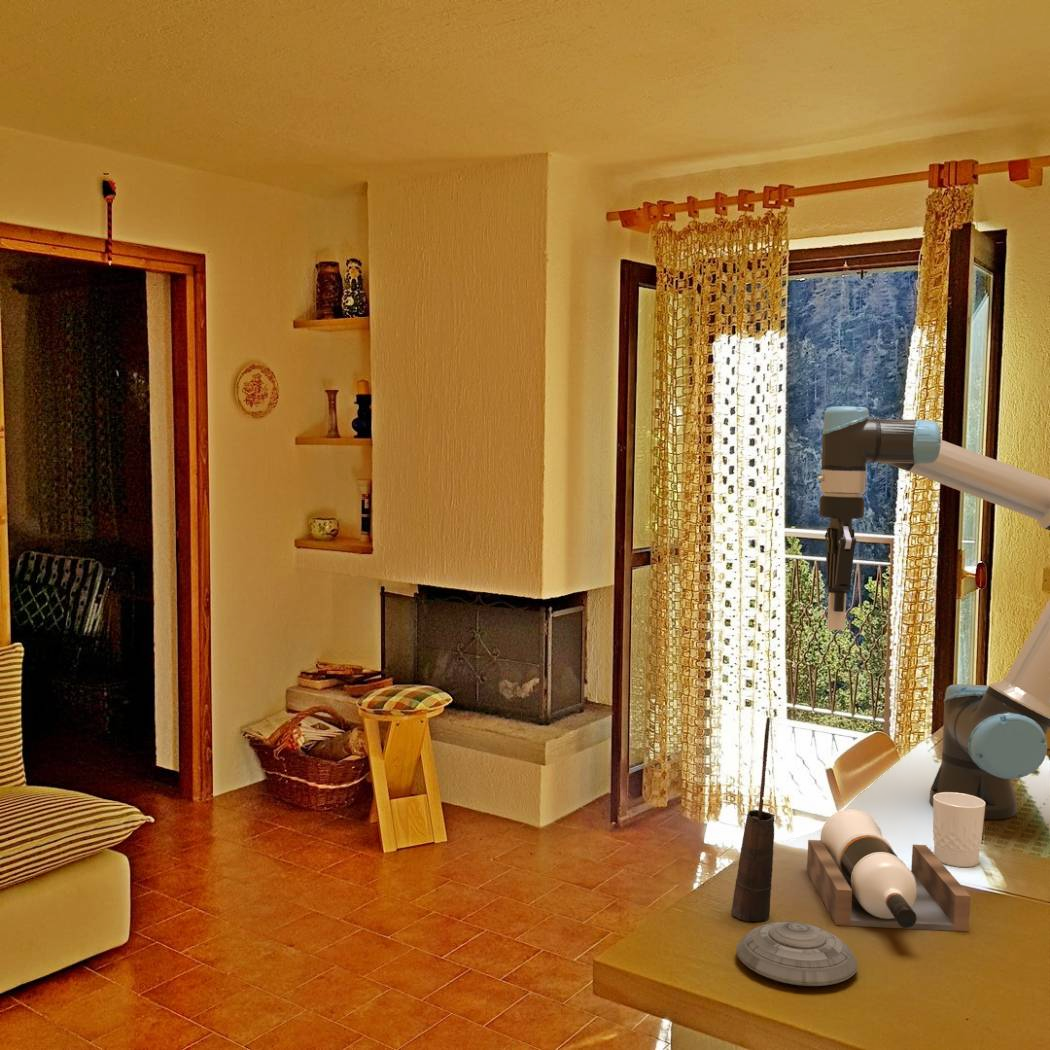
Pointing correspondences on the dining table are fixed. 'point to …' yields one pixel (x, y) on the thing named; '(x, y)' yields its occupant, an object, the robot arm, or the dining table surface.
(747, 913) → the butter churn
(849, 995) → the dining table surface
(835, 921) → the u rest
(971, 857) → the white cup
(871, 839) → the vodka
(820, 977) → the flying saucer
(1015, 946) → the dining table surface
